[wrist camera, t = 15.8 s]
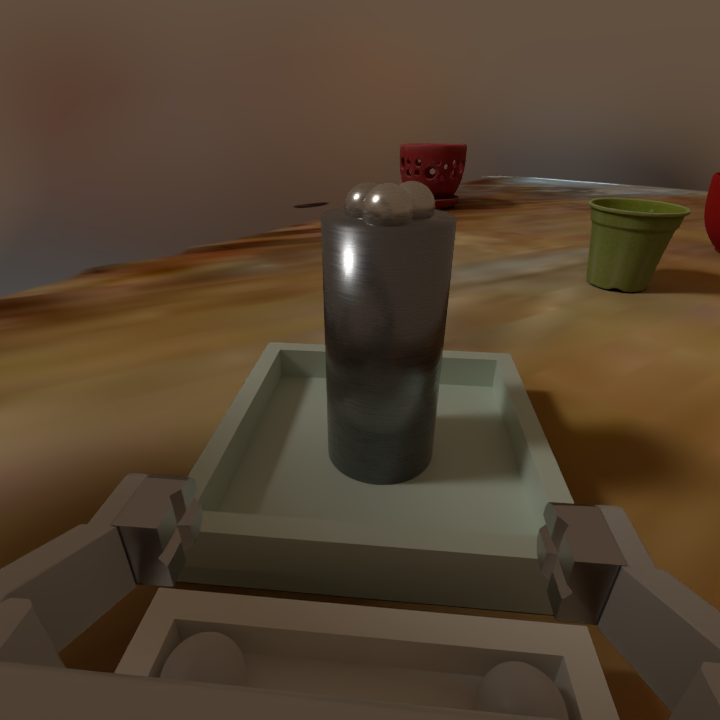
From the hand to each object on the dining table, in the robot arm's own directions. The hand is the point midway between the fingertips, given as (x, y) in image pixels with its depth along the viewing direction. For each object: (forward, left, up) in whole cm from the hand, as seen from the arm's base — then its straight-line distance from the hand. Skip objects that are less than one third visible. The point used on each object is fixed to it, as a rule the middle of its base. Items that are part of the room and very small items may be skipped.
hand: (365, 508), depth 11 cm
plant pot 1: (+6, +94, -9) cm, 94 cm away
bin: (0, +12, -8) cm, 14 cm away
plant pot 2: (+25, +45, -9) cm, 52 cm away
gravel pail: (0, +12, -7) cm, 14 cm away
